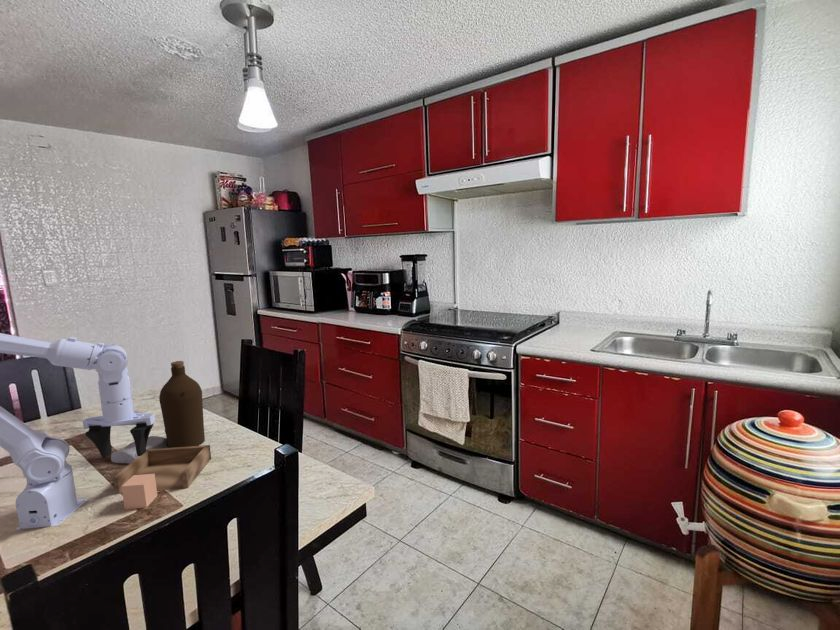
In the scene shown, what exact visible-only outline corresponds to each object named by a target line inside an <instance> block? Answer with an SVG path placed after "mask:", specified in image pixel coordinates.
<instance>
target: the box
mask: <svg viewBox="0 0 840 630" xmlns="http://www.w3.org/2000/svg"><path fill="white" fill-rule="evenodd" d="M211 460H212V451H211V445H210V444H207V445H206V444H205V445H199V446H189V447H175V448H168V447H166V448H162V449H148V450H146V452H145V453H144V454H143V455H142V456H138V457H137V458H136V459H135V460H133V461H132V462H131V463H130V464H128V465H126V466H125V467H124V468H123V469H121V471H119V472H118V473H117V474H116V475H115V476H114V477H112V482H113V489H114V495H119V494H122V487H121V486H122V485H123V484H125V483H126V482H127V481H128V480H129V479H130V478H131V477H132V476H133V475H144V474H155V480H156V488H157V492H158V491H169V490H179V489H181V490H182V489H189V488H190V486H191V485H192V484H193V483H194V481H195V480H196V479H197V477H198V476H199V475H200V474H201V472H202V471H203V470H204V469H205V467H206V466H207V465H208V464H209V462H210V461H211ZM122 495H123V494H122Z"/></svg>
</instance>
